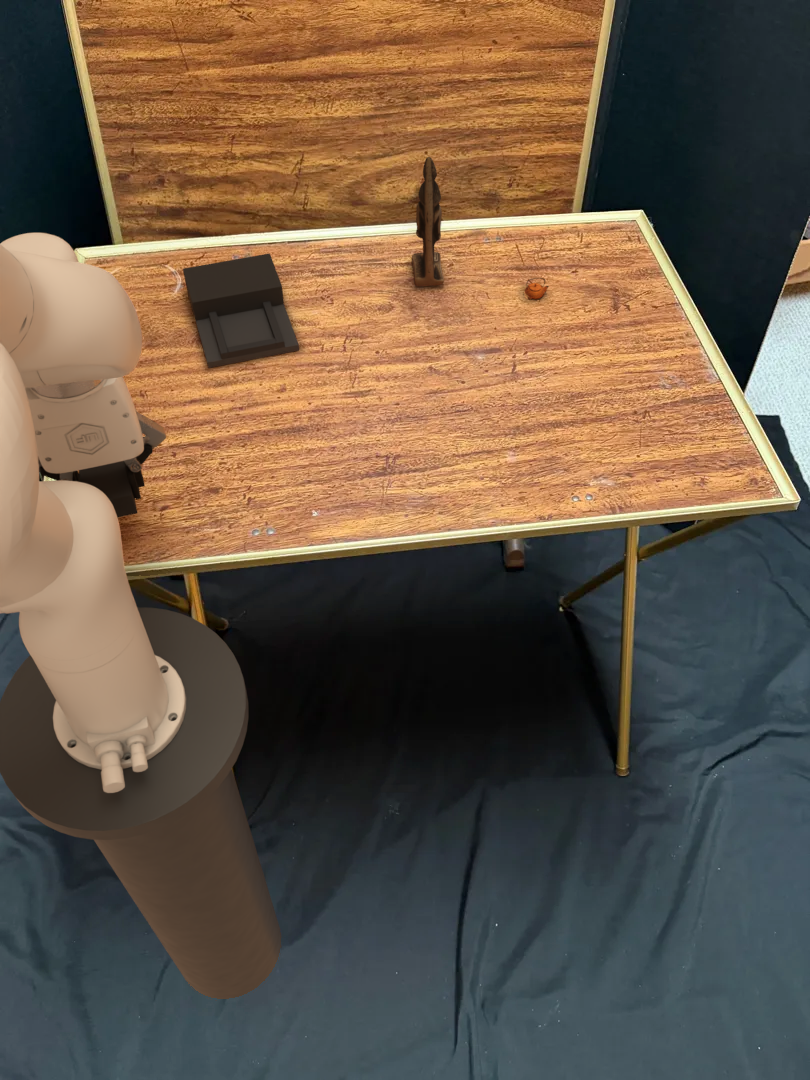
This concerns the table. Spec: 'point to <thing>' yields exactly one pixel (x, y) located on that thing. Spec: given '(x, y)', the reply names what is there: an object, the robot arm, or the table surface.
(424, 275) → the statue
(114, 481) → the loose pad
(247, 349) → the pad base
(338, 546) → the table surface
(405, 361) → the table surface
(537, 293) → the small kettle
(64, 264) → the robot arm
